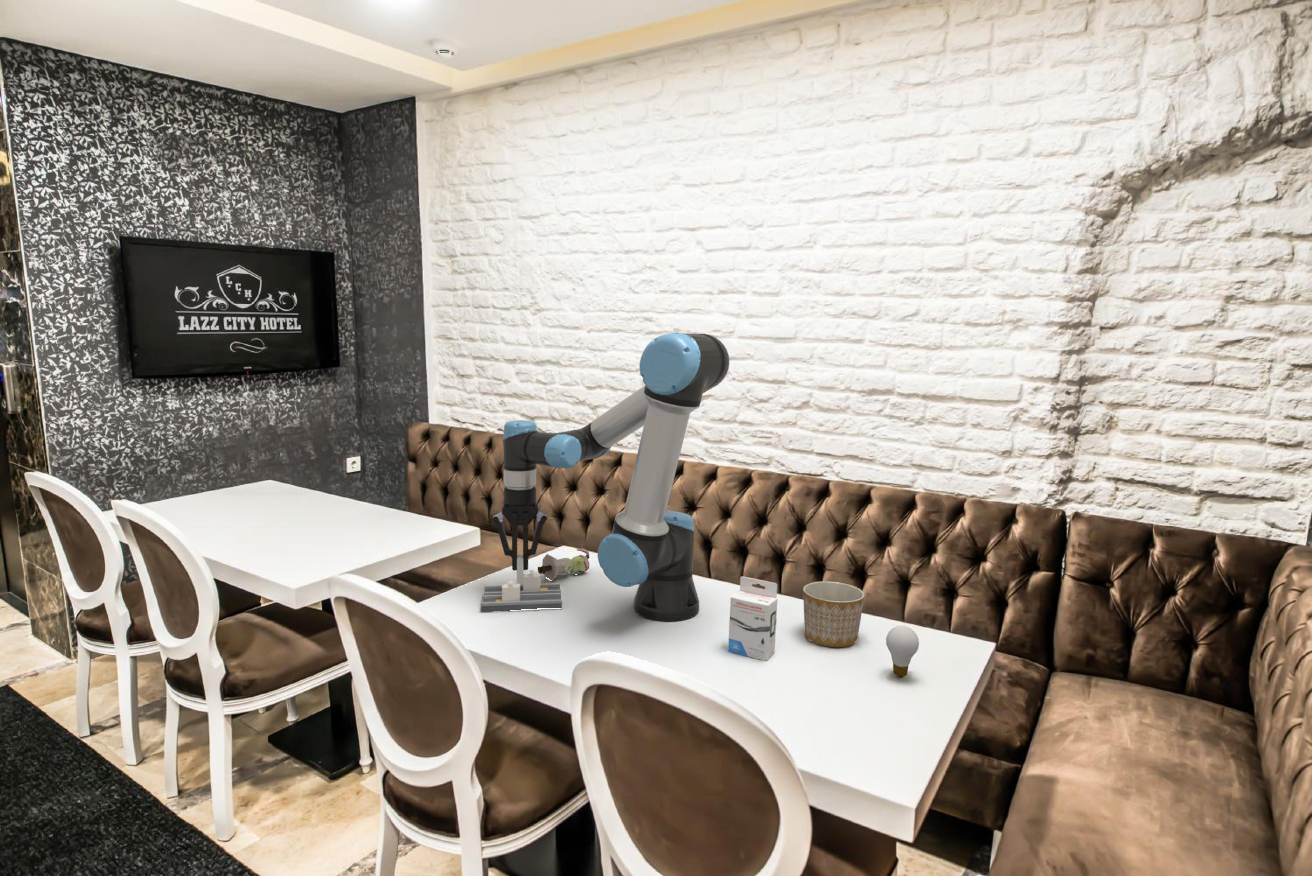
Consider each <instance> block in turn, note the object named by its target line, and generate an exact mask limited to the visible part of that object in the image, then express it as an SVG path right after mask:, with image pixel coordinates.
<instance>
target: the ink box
mask: <svg viewBox="0 0 1312 876" xmlns="http://www.w3.org/2000/svg"><path fill="white" fill-rule="evenodd" d="M758 584H759V586H761V587H764V588H760V587H757V586H753V585H758ZM739 589H740V590H738V591H737V592H735V593H734V594H732V595H731V596H730V608H729V623H728V624H729V626H728V647H727V650H728V652H730V653H734V654H737V655H741V656H745V657H749V658H753V659H757V660H760V661H764V662H766V661H768V660H769V659H770V658H771V657H772V655H773V654H774V653H775V649H776V634H777V633H776V632H777V613H778V612H777V611H778V598H777V595H778V584H777V583H776V582H772V581H767V580H762V579H758V578H753V577H747V576H744V575H743V576H740V577H739Z"/></svg>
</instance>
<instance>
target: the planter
mask: <svg viewBox="0 0 1312 876" xmlns="http://www.w3.org/2000/svg"><path fill="white" fill-rule="evenodd" d="M802 596H803V599H802V600H803V601H802V602H803V618H804V619H803V620H804V621H803V623H804V634H805V636H806V638H807V639H809V641H810V642H813V643H815V644H817V645H820V646H823V647H828V648H846V647H849V646H850V647H851V646H852V645H854V644H855V642H857V641H858V637H859V632H860V631H859V630H860V625H861V621H862V614H863V607H864V606H863V605H864V600H865V592H864V591H863V590H862V589H860V588H858V587H857V586H854V585H853V584H852V585H851V584H847V583H843V582H837V581H829V580H828V581H827V580H826V581H825V580H824V581H823V580H822V581H814V582H811V583H808V584H805V585H804V586H803V588H802Z"/></svg>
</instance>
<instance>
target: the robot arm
mask: <svg viewBox="0 0 1312 876" xmlns="http://www.w3.org/2000/svg"><path fill="white" fill-rule="evenodd" d="M641 353H642V354H641V356H640V361H639V374H640V376H641V377H642V382H643V384H644V385H643V386H641V387H640V388H639V389H637V390H636V391H634V392H633V393H631V394H630V395H629V396H627V397H625V398H624V399H623V400H621V401H620V402H618V403H617V404H615V405H614V406H613V407H611V408H610V409H608V410H606V411H605V412H604V413H602V414H601V415H599V416H598V417H596V418H595V419H593V420H592V421H591V422H589V423H588V424H587V425H585V426H583V427H582V428H581V427H580V428H578V429H573V430H572V429H571V430H566V431H559V432H544V431H543V432H542V431H538V429H537V424H536V422H535V421H531V420H509V421H507V422H505V424H504V425H503V436H502V437H503V438H502V441H503V442H502V443H503V486H505V487H504V488H503V506H502V508H501V511H500V512H499V513H497V514H493V515H492V521H493V523H494V524H495V526H496V528H497V530H498V535H499V538H500V539H499V540H500V542H501V546H502V550H503V554H504V556H506V557H507V556H508V557H510V558H511V569H512V571H516V584H520V585H523V574H524V571H528V570H529V557H530V556H534V555H536V554H537V549H538V545H539V541H540V538H541V535H542V530H543V525H544V524H546V522H547V520H548V515H547V513H543V512H541V511H539V508H538V506H537V488H536V485H537V465H538V466H539V465H540V466H544V467H550V468H555V469H573V468H574V467H576V464H578V463H579V462H582V461H588V460H595V459H599V458H600V457H604V456H605V455H607V454H608V453H609V452H610V450H611V448H612V447H613V446H614V445H616V444H617V443H619V442H621V441H622V440H624V439H625V438H627V437H628V436H630V435H631V434H633V433H635V432H637V431H638V430H640V429H641V428H643V429H642V433H641V436H640V442H639V446H638V450H637V455H636V459H635V464H634V467H633V472H632V476H631V480H630V485H629V489H628V493H627V497H626V501H625V506H624V510H621V511H620V512H618V513H617V514H616V515H615V517H614V522H613V527H612V531H611V533H609V534H608V535H606V536H604V538H602V539H601V541H600V542H599V545H598V548H597V559H598V560H597V561H598V563H599V567H600V568H601V570H602V571H603V575H604V576H605V577H606V578H608V580H609V581H611V582H612V583H613V584H615V585H617V586H620V587H623V588H630V587H634V586H637V585H638V588H637V591H636V593H635V596H634V599H633V610H634V612H635V613H636V614H637V615H639V616H641V617H643V618H645V619H649V620H654V621H660V622H677V621H683V620H688V619H691V618H693V617H695V616H696V615H698V614H699V611H700V599H699V596H698V593H697V589H696V586H695V581H694V579H693V572H694V571H693V567H694V542H695V533H696V532H695V521H694V519H693V517H692V516H691V515H690V514H688V513H684V512H682V511H681V512H679V511H674V510H667V507H668V504H669V500H670V496H671V492H672V490H673V489H672V488H673V484H674V481H675V480H674V479H675V476H676V472H677V467H678V464H679V460H680V455H681V452H682V448H683V444H684V439H685V436H686V432H687V428H688V423H689V419H690V415H691V413H692V412H694V411H695V410H697V409H699V408H700V406H701V402H702V398H703V395H704V393H706V392H708V391H710V390H712V389H713V388H715V387H717V386H718V385H720V384H721V383H722V382H723V381H724V380H725V378H726V376H727V375H728V372H729V368H730V355H729V352H728V349H727V348H726V346H725V344H723V342H722V341H721V340H720V339H719V338H717V337H716V336H713V335H711V334H707V333H688V332H687V333H684V332H677V331H676V332H671V333H666V334H662V335H659V336H657V337H655V338H654V339H652V340H651V341H650V342H649V343H648V344H647V345H645V348H644V350H643V351H642V352H641ZM535 517H536V521H537V523H536V526H535V527H536V528H535V532H534V536H533V539H532V543H531V548H529V525H530V524H531V523H532V521H533V520H534V519H535ZM504 518H505V519H506V520H507V522H508V523H509V524H510V525H511V548H510V546H509V543H508V538H507V534H506V531H505V526H504V523H503V522H504ZM518 526H522V554H520V555H519V554H518Z"/></svg>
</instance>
